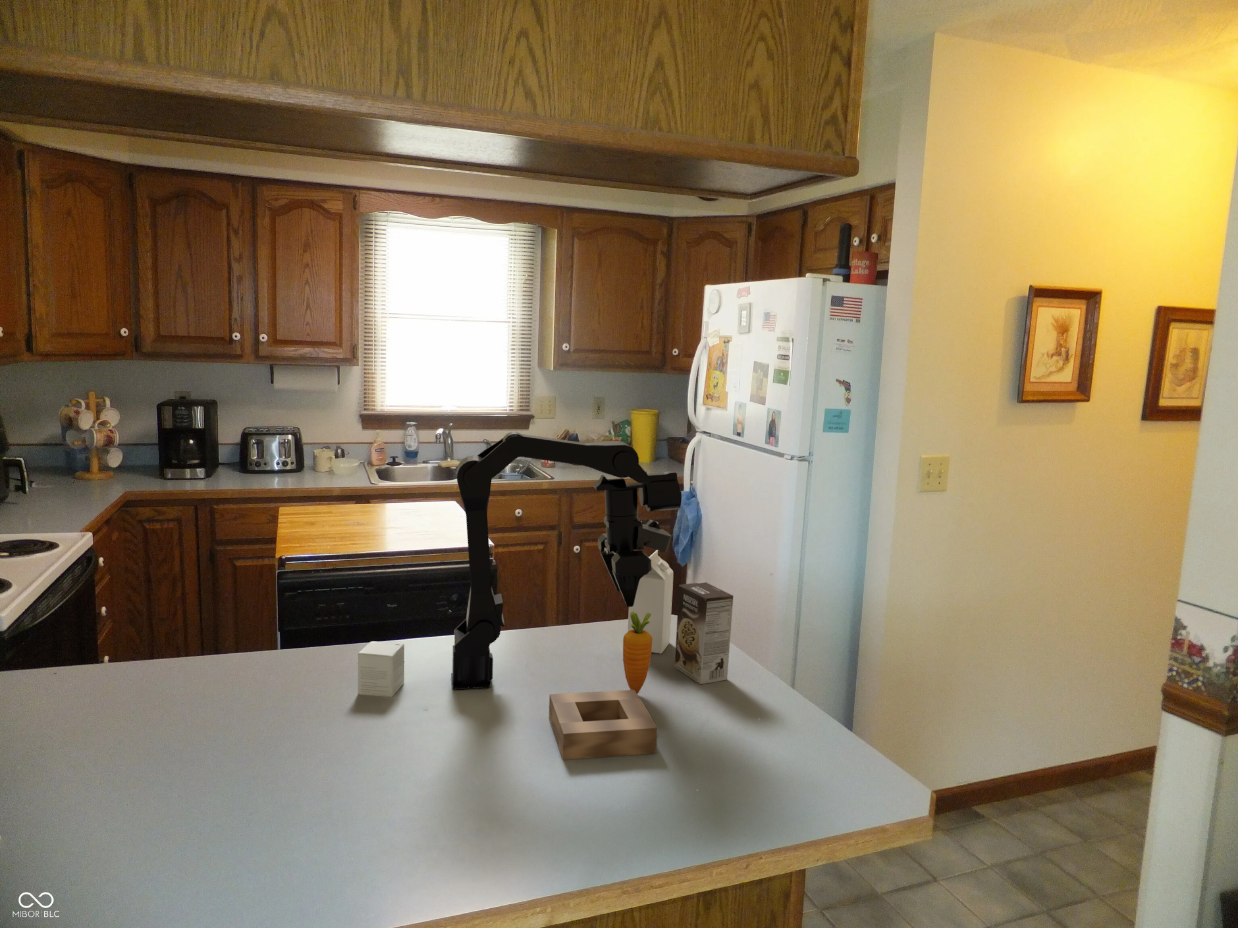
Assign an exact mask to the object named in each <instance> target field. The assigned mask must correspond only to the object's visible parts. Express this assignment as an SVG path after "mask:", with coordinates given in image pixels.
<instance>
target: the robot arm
mask: <svg viewBox="0 0 1238 928" xmlns="http://www.w3.org/2000/svg"><path fill="white" fill-rule="evenodd" d="M517 458H525V459H526V458H527V459H534V460H540V461H547V462H554V463H555V462H556V463H563V464H570V465H576V466H577V465H578V466H584V467H586V468H587V467H588V468H591V469H593V470H596V471H599V472H600V473H604V474H607V475H610V476H612V477H616V478H607V477H606V476H605V475H603V474H601V475H600V477H599V479H598V480H597V481H595V482H594V483H593V488H594V489H595V490H596V491H598V492H600V491H603V492H604V501H605V503H604V504H605V517H603V523H604V525H605V529H606V530H605V531H606V533H605V532H604V533H602V534H601V535H600V536H599V537H598V538H597V545H598V546H597V547H598V550H599V553H600V556H601V557H602V560H603V562H604V565H605V567H606V569H607V571H608V574H609V576H610V578H611V580H612V582H613V585H614V588H615V589H616V592H620V594H621V595H622V596H621V597H622V598H623V601H624V603H625V605H626V607H627V608H629V607H633V605H634V601H635V597H636V592H637V588H638V584H639V581H640V579H641V578H642V577H643V576H644V575H647V574H648V573H649V572H650V571H651V559H650V558H649V557H650V556H648V554H646V553H645V552H644V550H645V547H647V548H650V549H653V550H654V549H655V550H658V551H659V552H660V553H664V554H666V553H667V552H668V549H669V545H670V543H671V539H672V535H671V534H670V533H669V532H668V531H666V530H665V529H663V528H662V529H661V525H660V522H658V521H656V520H653V519H649V520H648V521H647V522H645V523H646V524H645V523H643V521H642V520H641V519H640V518H639V504H640V507H645V509H646V511H647V512H656V511H657V512H659V511H669V510H670V511H671V510H672V511H673V510H680V509H681V506H682V492H681V488H680V483H679V479H678V473H677V472H676V471H674V470H668V471H664V472H655V473H648V472H647V470H646V469H644V468H643V467H642V466H641V465H640V461H639V460H640V458H639V454H638V453H637V451H636V449H635V448H633V447H632V446H630V445H629V444H627V443H626V442H624V441H621V440H607V441H606V440H604V441H603V440H602V441H594V442H582V441H572V440H565V439H561V438H552V437H551V438H550V437H544V436H537V435H532V434H531V435H530V434H524V433H521V432H518V431H509V432H508V433H506V434H505V435H504V436H503V437H502V438H501V439H499V440H497V442H495V443H493V444H491V445H490V446H489V447H486V448H485V449H484V450H482V451H481V452H480V453H478V454H477V455H468V456H466V457H464V458H462V460H460V462H459V463H458V465H457V467H456V481H457V482H456V483H457V485H458V490H459V493H460V497H461V501H462V505H463V508H464V512H465V513H464V514H465V519H466V523H465V524H466V533H467V534H466V535H467V549H468V550H467V551H468V552H467V553H468V566H469V580H470V582H469V583H470V589H469V594H468V603H467V609H466V618H465V619H464V620H463V621H462V622H461V623H459V625H458V626H456V628H454V631H453V634H454V635H453V636H454V642H453V645H452V660H451V661H452V665H451V666H452V667H451V668H452V669H451V670H452V672H451V674H450V675H451V679H450V680H451V689H453V690H466V689H485V688H487V689H488V688H491V686H492V685H491V681H492V680H493V676H494V657H493V653H492V652H491V649H490V645H491V644H493V643H495V642H496V640H498V638H500V635H501V628H505V626H506V625H505V619H504V614H503V609H504V603H503V602H504V601H503V597H502V593H498V594H494V591H493V587H492V574H491V573H492V572H491V558H490V556H491V555H490V541H489V524H488V523H489V521H488V508H489V503H490V495H491V488H492V479H494V478H495V477H497V475H499V474H500V473H502V471H503V470H505V469H506V468H507V467H508V466H509V465H510V464H512V462H513V461H515V460H516V459H517ZM625 478H630V479H631V480H633V481H634V482H626V480H625ZM638 498H639V499H638ZM638 502H639V503H638Z"/></svg>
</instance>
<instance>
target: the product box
mask: <svg viewBox="0 0 1238 928" xmlns="http://www.w3.org/2000/svg"><path fill="white" fill-rule="evenodd" d="M404 684H405V644H404V643H402V642H390V641H389V642H388V641H387V642H385V641H374V640H373V641H370V642H368V644H367V645H365V646H364V647H363V648H362V649H361V650H360V651H359V652H358V653H357V693H358V695H359V696H372V697H373V696H376V697H387V698H393V697H394V696H395V694H396V693H397V692H398V691H399V690H400V688H401V687H402V686H403V685H404Z"/></svg>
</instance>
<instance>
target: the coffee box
mask: <svg viewBox="0 0 1238 928" xmlns="http://www.w3.org/2000/svg"><path fill="white" fill-rule="evenodd" d="M677 599H678V601H677V614H676V615H677V616H676V618H677V619H676V635H675V652H674V653H675V654H674V668H676V669H677V670H679V671H680V672H681V673H683V674H684V675H686V676H687V677H689V678H691V680H693V681H694V682H696V683H697V684H699V685H704V684H710V683H715V682H721V681H727V680H728V675H729V674H728V672H729V659H730V647H731V646H730V645H731V633H732V620H733V618H732V617H733V607H734V605H733V604H734V595H733V594H731V593H728V592H726V591H724V590H723V589H720V588H718V587H717V586H715V585H712V584H710V583H708V582H700V583H698V582H691V583H683V584H678V598H677Z"/></svg>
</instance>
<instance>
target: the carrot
mask: <svg viewBox="0 0 1238 928" xmlns="http://www.w3.org/2000/svg"><path fill="white" fill-rule="evenodd" d="M650 616H651V614H650V613H647V614H646V616H645V617H644V620H643V622H642V623H641V622H640V620H639V618H638V615H637V613H634V612H631V613H630V617H631V620H632V623H633V624H631V627H632V628H633V629H634V630H629V631H628V630H627V632H626V633H625V634H624V635H623V639H622V641H623V642H622V657H623V658H622V662H623V671H624V675H625V679H626V682H627V686H628V688H629V690H635V691H636V693H637V695H638V694H639V693H640V691H641V689H642V687H643V686H644V684H645V682H646V679H647V675H648V673H649V670H650V669H649V668H650V663H651V659H652V658H651V657H652V652H651V650H652V636H651V635H650V634H649V633H648V632H646V631H645V630H643V629H644V627H645V626H646V624H648V623H650V621H649V620H648V619H649V617H650ZM637 626H638V627H637Z"/></svg>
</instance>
